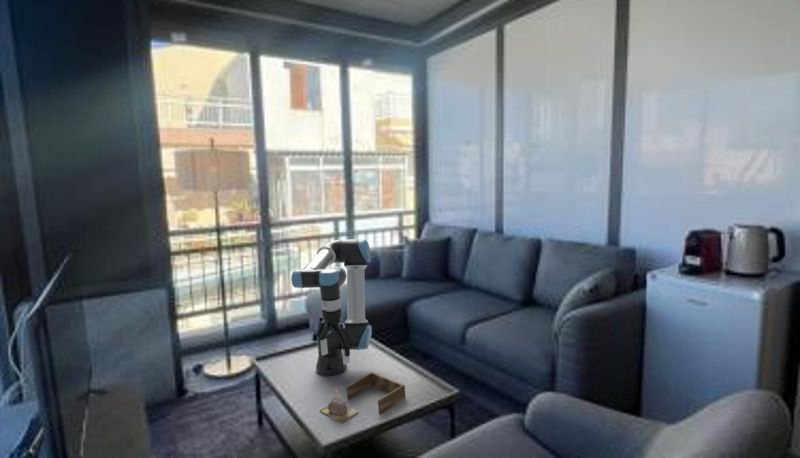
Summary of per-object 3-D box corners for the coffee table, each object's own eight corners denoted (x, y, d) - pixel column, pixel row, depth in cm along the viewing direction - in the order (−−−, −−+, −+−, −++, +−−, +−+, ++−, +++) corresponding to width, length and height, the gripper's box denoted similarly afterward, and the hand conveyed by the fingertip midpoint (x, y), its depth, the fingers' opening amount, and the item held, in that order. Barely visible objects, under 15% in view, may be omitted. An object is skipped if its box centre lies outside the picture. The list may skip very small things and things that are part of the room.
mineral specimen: (324, 405, 186) (323, 391, 185) (340, 400, 189) (339, 387, 188) (332, 420, 175) (331, 405, 174) (350, 415, 178) (349, 401, 177)
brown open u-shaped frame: (347, 398, 191) (346, 385, 190) (372, 384, 203) (371, 372, 202) (380, 414, 178) (379, 400, 177) (405, 398, 190) (404, 385, 189)
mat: (319, 411, 183) (319, 410, 183) (336, 401, 189) (336, 400, 189) (342, 423, 174) (341, 421, 173) (358, 412, 180) (358, 411, 180)
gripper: (304, 305, 181) (309, 354, 184) (345, 317, 164) (349, 371, 168) (319, 300, 186) (323, 347, 190) (359, 311, 170) (363, 363, 173)
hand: (335, 358), depth 179 cm, fingers open, 13 cm apart
